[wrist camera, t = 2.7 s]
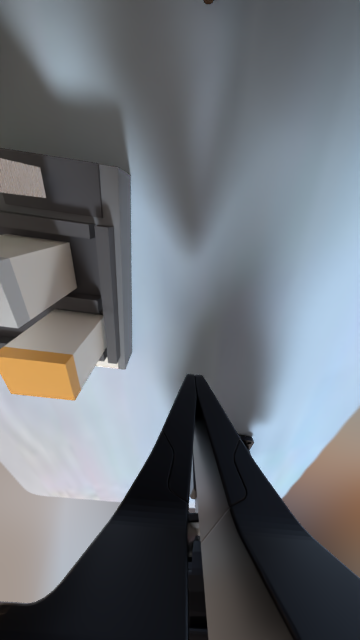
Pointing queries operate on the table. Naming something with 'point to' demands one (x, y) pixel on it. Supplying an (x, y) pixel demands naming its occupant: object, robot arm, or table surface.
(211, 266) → the table surface
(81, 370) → the fader orange
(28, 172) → the toggle lever
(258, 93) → the table surface
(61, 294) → the block
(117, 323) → the panel
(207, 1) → the owl
